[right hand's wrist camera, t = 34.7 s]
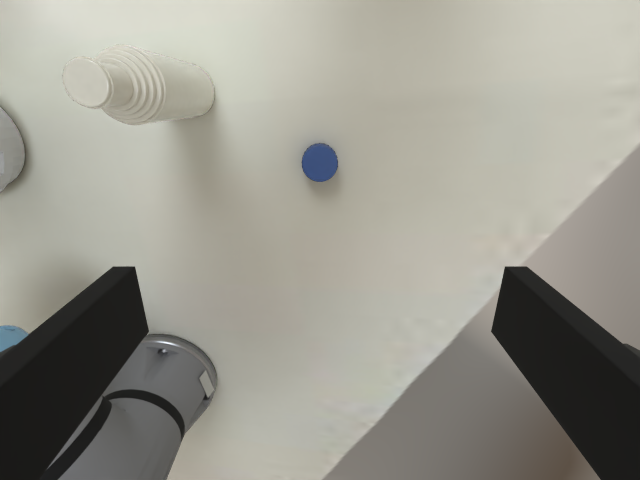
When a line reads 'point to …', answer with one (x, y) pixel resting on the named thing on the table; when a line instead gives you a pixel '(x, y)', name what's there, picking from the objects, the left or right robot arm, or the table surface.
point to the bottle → (139, 85)
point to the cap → (319, 162)
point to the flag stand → (10, 150)
